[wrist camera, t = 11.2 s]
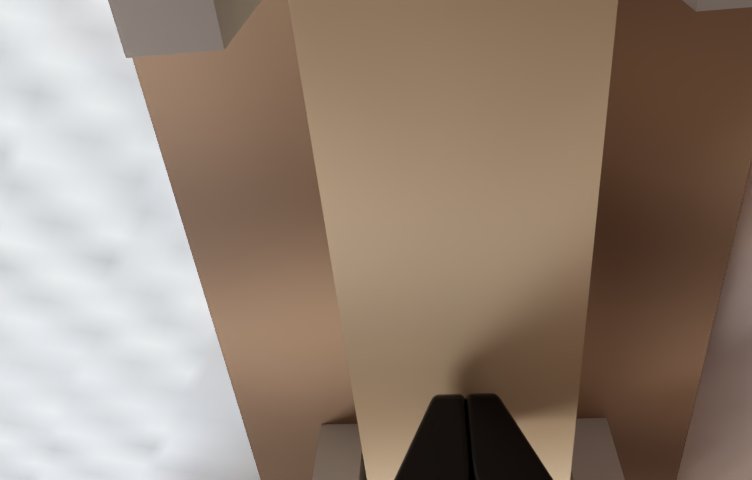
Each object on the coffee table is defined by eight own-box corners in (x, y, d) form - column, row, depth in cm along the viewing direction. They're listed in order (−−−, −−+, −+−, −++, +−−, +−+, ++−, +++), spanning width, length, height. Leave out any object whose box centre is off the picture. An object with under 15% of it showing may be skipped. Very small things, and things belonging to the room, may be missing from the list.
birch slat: (524, 502, 17) (550, 680, 13) (403, 504, 17) (399, 677, 14) (559, -338, 8) (661, -429, 5) (305, -304, 8) (226, -366, 5)
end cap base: (647, 524, 18) (712, 736, 14) (291, 526, 20) (256, 726, 15) (903, -690, 7) (1621, -1400, 3) (-8, -530, 8) (-477, -875, 4)
